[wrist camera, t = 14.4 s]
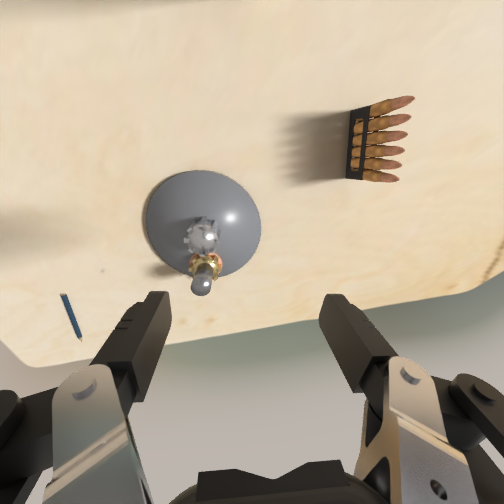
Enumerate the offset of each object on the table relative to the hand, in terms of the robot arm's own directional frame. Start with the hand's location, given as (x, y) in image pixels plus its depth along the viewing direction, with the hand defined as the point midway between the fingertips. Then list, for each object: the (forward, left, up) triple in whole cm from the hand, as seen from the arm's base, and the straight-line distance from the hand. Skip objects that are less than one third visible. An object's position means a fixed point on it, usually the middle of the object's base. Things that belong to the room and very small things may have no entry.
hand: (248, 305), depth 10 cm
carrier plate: (+7, -6, -30) cm, 31 cm away
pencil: (+31, -37, -31) cm, 57 cm away
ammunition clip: (-10, +20, -30) cm, 38 cm away
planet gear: (+15, -6, -29) cm, 33 cm away
